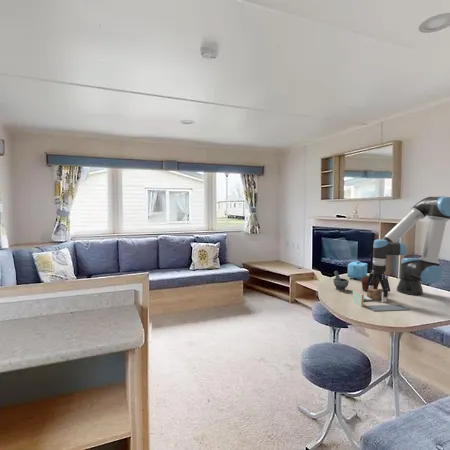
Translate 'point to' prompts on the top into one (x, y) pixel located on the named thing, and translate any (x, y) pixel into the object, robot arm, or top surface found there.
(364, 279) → the muffin
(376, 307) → the tool mat
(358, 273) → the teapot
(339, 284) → the mortar and pestle
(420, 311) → the top surface
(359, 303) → the tile
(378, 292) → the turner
